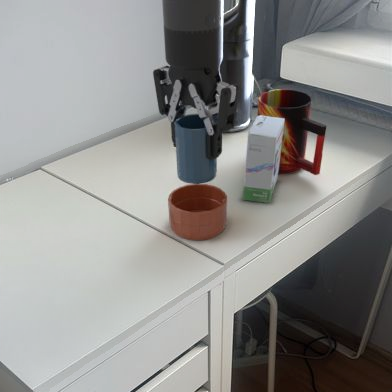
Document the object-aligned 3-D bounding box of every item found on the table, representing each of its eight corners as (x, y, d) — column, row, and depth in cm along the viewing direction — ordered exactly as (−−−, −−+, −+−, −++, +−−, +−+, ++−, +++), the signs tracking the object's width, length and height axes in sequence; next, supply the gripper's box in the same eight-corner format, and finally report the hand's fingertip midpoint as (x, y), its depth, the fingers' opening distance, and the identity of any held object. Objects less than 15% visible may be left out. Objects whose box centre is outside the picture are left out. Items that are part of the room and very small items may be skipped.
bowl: (196, 205, 89) (195, 178, 85) (237, 223, 84) (239, 195, 81) (158, 227, 84) (155, 199, 80) (200, 247, 79) (200, 219, 76)
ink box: (251, 178, 95) (255, 113, 87) (278, 181, 94) (285, 116, 86) (241, 200, 89) (245, 133, 81) (270, 204, 88) (277, 136, 80)
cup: (195, 162, 81) (194, 110, 75) (224, 173, 78) (225, 120, 72) (169, 176, 78) (165, 123, 72) (198, 188, 75) (197, 133, 69)
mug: (317, 181, 94) (327, 115, 85) (247, 168, 98) (250, 104, 89) (330, 160, 100) (341, 96, 91) (264, 149, 104) (268, 86, 96)
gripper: (257, 23, 62) (250, 156, 74) (172, 7, 69) (178, 131, 81) (217, 36, 58) (216, 175, 70) (132, 18, 65) (144, 147, 77)
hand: (196, 151), depth 75 cm, fingers closed on cup, 6 cm apart
